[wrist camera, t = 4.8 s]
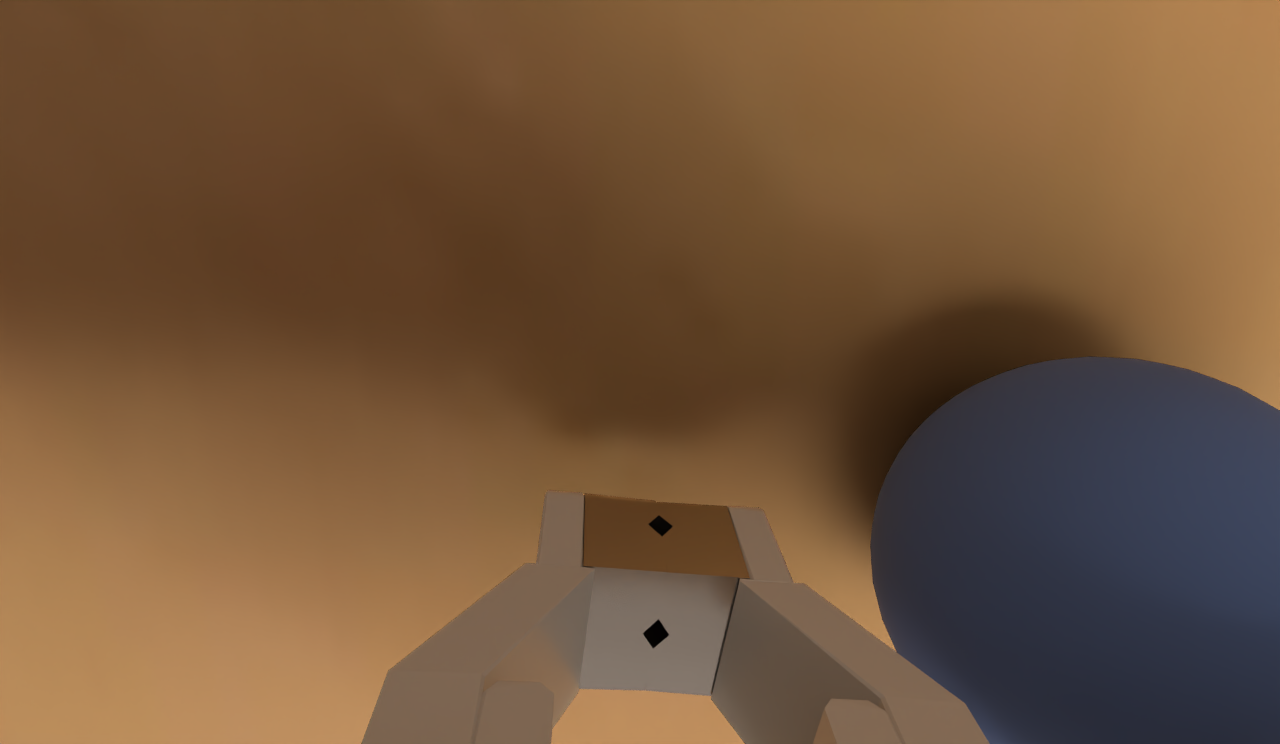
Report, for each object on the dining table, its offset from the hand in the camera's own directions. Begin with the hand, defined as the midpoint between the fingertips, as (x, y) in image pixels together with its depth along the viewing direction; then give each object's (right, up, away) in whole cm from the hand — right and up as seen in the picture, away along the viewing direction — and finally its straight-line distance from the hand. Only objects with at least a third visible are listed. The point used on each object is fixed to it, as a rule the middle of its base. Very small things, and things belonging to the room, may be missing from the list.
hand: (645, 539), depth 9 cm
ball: (+6, 0, 0) cm, 6 cm away
